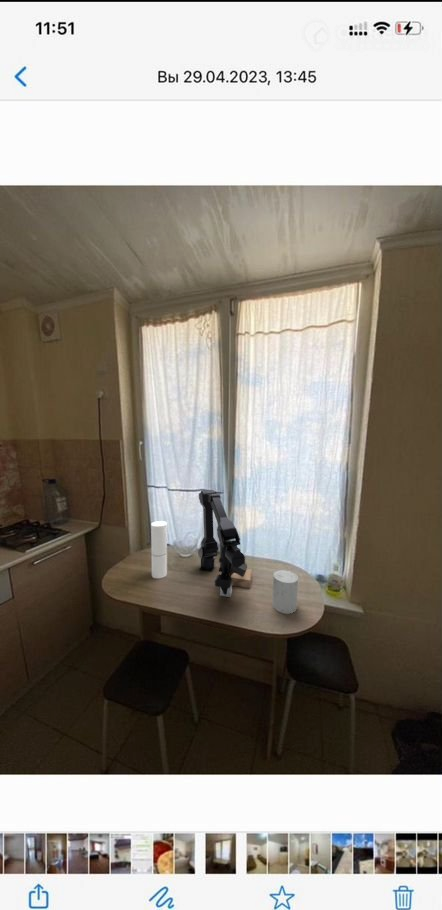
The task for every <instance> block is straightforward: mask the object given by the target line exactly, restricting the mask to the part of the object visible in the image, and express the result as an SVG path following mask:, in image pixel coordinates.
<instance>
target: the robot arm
mask: <svg viewBox="0 0 442 910" xmlns="http://www.w3.org/2000/svg"><path fill="white" fill-rule="evenodd" d="M198 500H199V504H200V505H201V506H202V509H203V510H202V512H203V513H202V514H203V538H202V540H201V541H200V547H199V549H198V550H197V554H198V557H199V559H200V568H199V571H207V572H213V571H214V569H215V567H216V557H217V556H218V553H219V559H218V562H219V568H218V572H220V573H221V574H220V573H219V574H217V575H216V576H215V580H214V586H215V587H218V588H220V587H221V589H222V591H223V593H224V594H227V590H228V588H230V587H231V583H232V578H231V575H232V574H233V573H236V574H238V575H240V576H242V577H244V575H245V572H246V570H247V569H248V565H247V563H246V556H245V554H244V553H243V552H242V551H241V549H240V548H239V547H238V546H240V545H241V538H240V535H239V532H238V529H237V528H236V526H235V525H234V522H233V521H232V520H230V519H229V517H228V515H227V512H226V510H225V508H224V505H223V503H222V500H221V495H220V493H219V492H217V491H215V490H214V489H207V490H206V489H205V490H201V491H200V492H199V493H198ZM214 517H215V519H216V523H217V528H216V532H217V535H216V536H217V538H218V541H219V545H220V546H218V542H217V540H216V539H215V538H214V537H215V536H214V533H215V532H214ZM219 547H220V549H219Z"/></svg>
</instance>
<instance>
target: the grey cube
mask: <svg viewBox="0 0 442 910" xmlns="http://www.w3.org/2000/svg"><path fill="white" fill-rule="evenodd" d="M232 581H233V579H232ZM232 592H233V586H232V583H231V587H230V588H228V590H227V594H224V593H223V591H222V589H221V587H219V596H221V597H227V598H231V596H232Z"/></svg>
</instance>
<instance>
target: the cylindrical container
mask: <svg viewBox="0 0 442 910" xmlns="http://www.w3.org/2000/svg"><path fill="white" fill-rule="evenodd" d="M167 525H168V522H167V521H164V520H157V521H154V522H153V521H152V522H151V525H150V528H151V529H150V530H151V531H150V534H151V536H150V537H151V539H150V541H151V542H150V543H151V544H150V545H151V546H150V547H151V548H150V549H151V577H152V578H153V579H162V578H164V577H167V574H168V526H167Z"/></svg>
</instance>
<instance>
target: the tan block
mask: <svg viewBox="0 0 442 910" xmlns="http://www.w3.org/2000/svg"><path fill="white" fill-rule="evenodd" d="M231 578H232V579H233V581H232V587H233V586H234V587H238V588H239V587H240V588H244V589H245V588H246V589H250V588H251V584H252V578H253V569H251V568H247V570H246V572H245V575H244V577H242V576H240V575H238V574H236V573H233V574H232V575H231Z"/></svg>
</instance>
